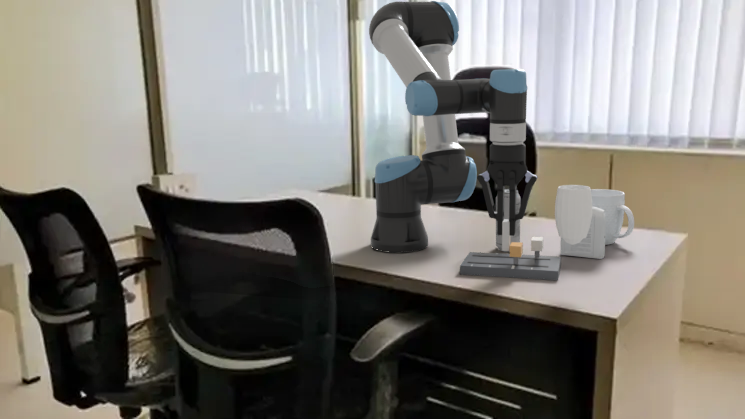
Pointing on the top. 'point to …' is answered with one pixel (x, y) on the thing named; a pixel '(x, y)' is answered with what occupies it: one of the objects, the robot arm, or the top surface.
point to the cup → (573, 212)
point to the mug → (613, 212)
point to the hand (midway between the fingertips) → (506, 249)
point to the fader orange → (516, 251)
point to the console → (511, 266)
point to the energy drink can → (506, 216)
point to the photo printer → (589, 239)
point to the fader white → (537, 245)
